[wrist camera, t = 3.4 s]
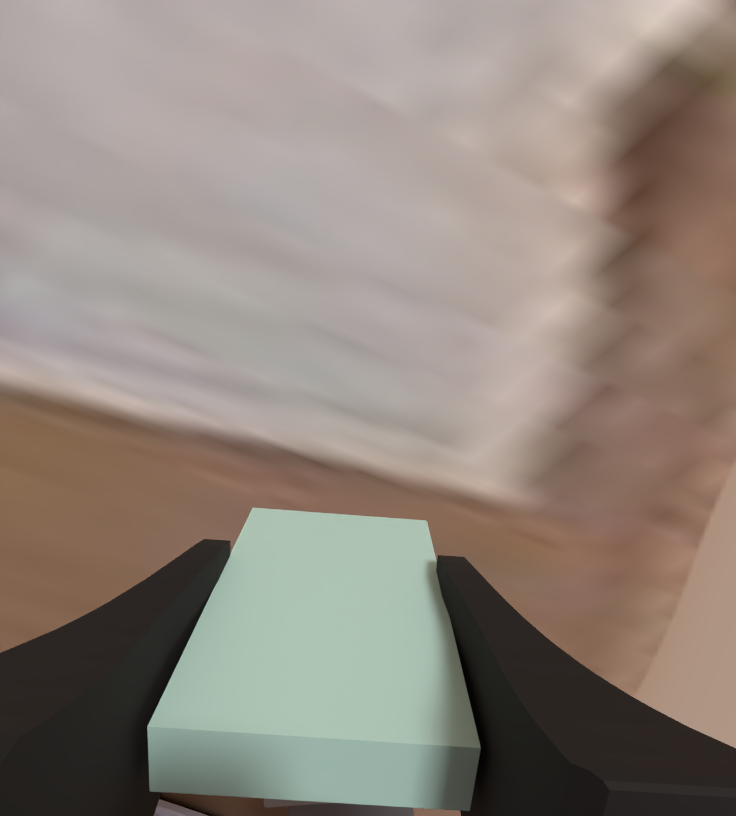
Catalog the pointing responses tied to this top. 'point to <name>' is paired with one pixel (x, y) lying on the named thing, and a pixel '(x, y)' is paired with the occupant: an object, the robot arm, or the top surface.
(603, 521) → the top surface
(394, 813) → the domino
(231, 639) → the green domino
